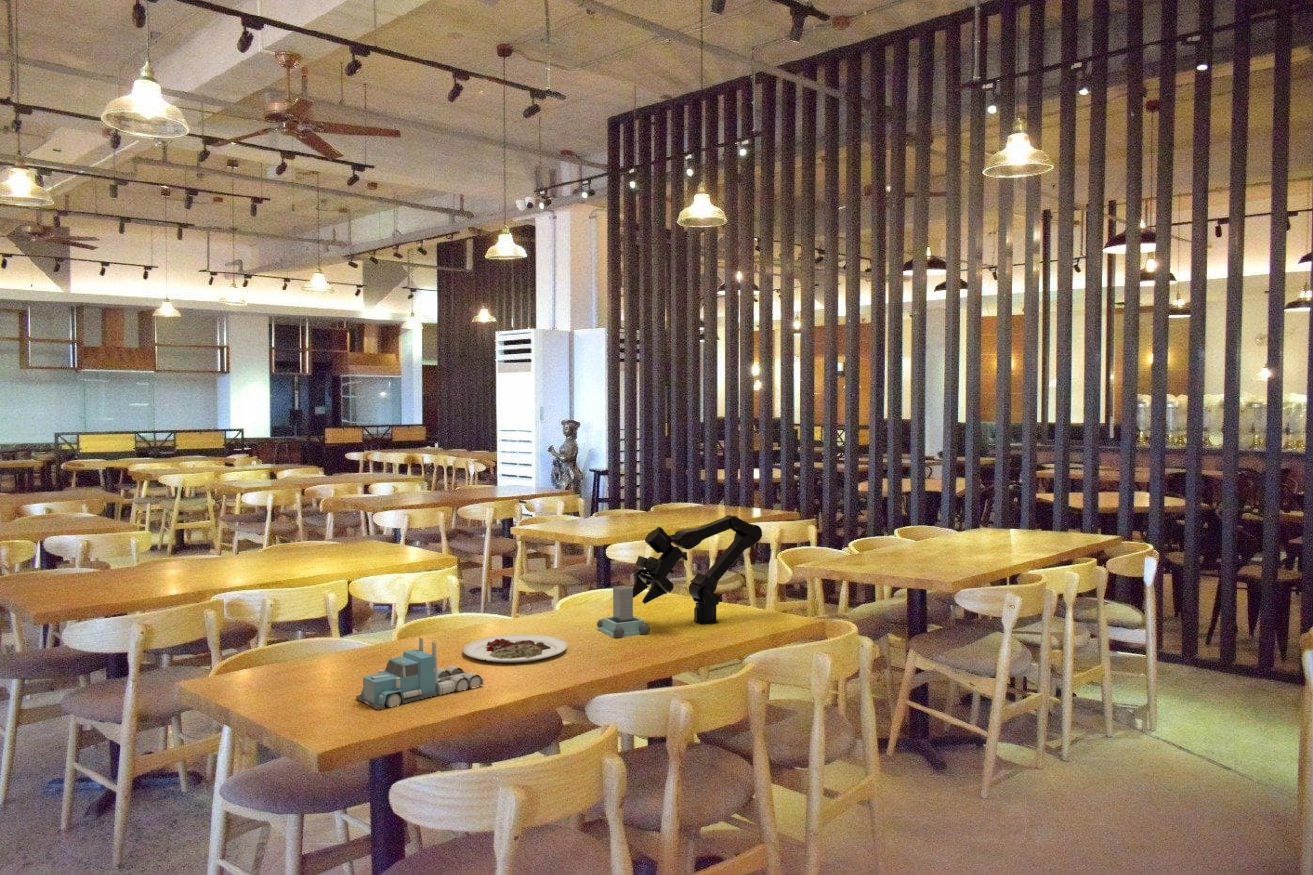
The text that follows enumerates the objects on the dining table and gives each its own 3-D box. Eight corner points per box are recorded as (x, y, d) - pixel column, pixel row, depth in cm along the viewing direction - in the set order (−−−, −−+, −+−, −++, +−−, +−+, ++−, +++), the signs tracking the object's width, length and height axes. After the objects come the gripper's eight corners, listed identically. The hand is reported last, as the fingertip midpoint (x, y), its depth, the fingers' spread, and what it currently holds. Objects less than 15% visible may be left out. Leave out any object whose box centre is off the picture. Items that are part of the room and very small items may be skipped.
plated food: (548, 669, 261) (548, 657, 261) (445, 663, 267) (445, 651, 267) (579, 642, 290) (579, 631, 290) (486, 638, 296) (486, 627, 296)
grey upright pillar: (626, 626, 306) (625, 585, 306) (632, 629, 302) (632, 588, 302) (613, 627, 304) (613, 587, 304) (620, 631, 300) (619, 589, 300)
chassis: (631, 625, 312) (631, 613, 312) (650, 634, 300) (650, 621, 300) (596, 629, 306) (596, 617, 306) (614, 638, 294) (614, 625, 294)
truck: (355, 701, 233) (354, 640, 233) (459, 678, 253) (458, 621, 252) (377, 712, 224) (377, 649, 224) (483, 688, 244) (483, 629, 243)
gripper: (637, 543, 315) (607, 579, 311) (664, 550, 299) (633, 589, 294) (659, 564, 319) (630, 601, 315) (686, 572, 303) (656, 611, 298)
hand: (636, 600), depth 305 cm, fingers open, 9 cm apart
